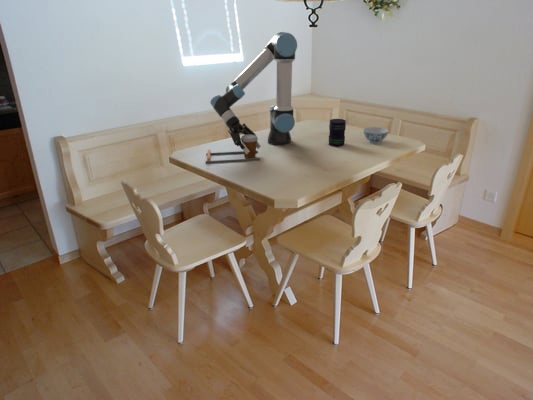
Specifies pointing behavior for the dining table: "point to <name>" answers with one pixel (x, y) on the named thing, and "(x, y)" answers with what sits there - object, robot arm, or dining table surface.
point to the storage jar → (337, 132)
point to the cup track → (228, 160)
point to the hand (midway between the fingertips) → (253, 150)
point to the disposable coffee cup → (250, 144)
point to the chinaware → (375, 134)
